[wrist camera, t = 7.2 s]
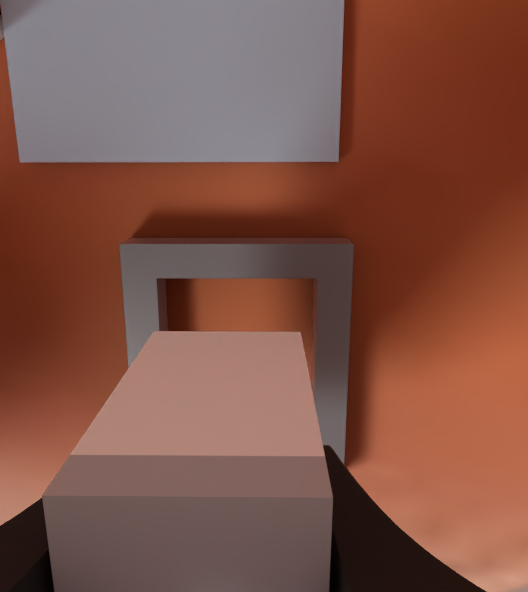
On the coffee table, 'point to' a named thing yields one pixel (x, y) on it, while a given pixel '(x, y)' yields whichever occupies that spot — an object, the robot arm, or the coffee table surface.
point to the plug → (198, 474)
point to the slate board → (175, 79)
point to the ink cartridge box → (1, 29)
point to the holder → (253, 264)
